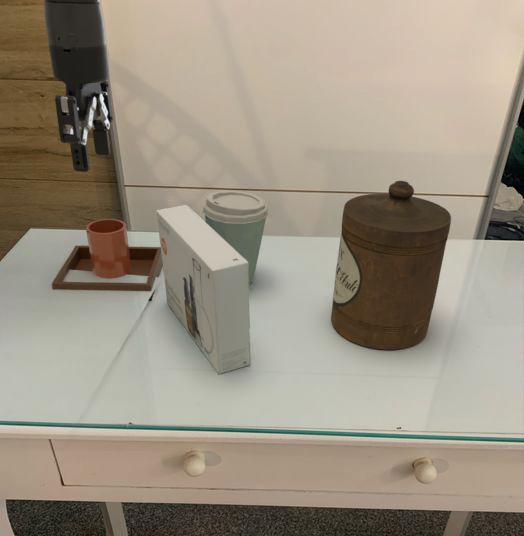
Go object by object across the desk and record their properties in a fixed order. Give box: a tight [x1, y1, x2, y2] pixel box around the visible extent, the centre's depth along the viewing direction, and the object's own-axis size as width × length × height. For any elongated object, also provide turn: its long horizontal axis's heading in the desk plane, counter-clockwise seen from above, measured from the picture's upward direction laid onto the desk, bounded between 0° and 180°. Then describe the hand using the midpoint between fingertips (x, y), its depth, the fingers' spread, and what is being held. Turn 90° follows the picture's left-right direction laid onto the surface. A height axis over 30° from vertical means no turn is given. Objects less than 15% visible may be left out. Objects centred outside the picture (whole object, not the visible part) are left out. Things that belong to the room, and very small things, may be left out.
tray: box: [51, 245, 163, 301], centre depth 95 cm, size 16×15×3 cm
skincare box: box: [155, 204, 252, 375], centre depth 78 cm, size 21×5×16 cm, turn 27°
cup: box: [85, 218, 133, 279], centre depth 93 cm, size 6×6×9 cm
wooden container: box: [330, 180, 452, 350], centre depth 80 cm, size 15×15×22 cm
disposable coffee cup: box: [202, 189, 269, 286], centre depth 92 cm, size 11×11×15 cm
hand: (93, 162), depth 84 cm, fingers open, 8 cm apart
